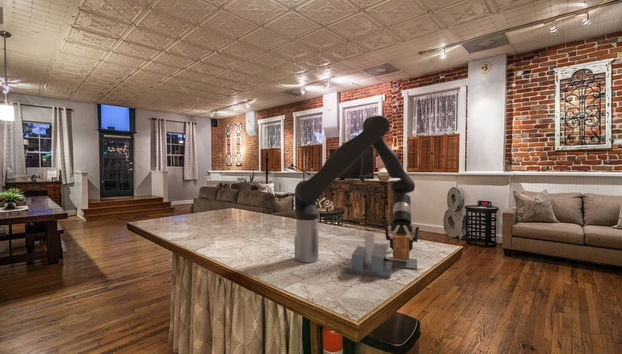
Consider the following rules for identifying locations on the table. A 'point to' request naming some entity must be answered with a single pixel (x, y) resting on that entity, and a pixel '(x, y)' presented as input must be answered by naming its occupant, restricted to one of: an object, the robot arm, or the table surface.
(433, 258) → the table surface
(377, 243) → the mechanical component
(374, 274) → the vise
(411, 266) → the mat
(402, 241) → the sleeve
